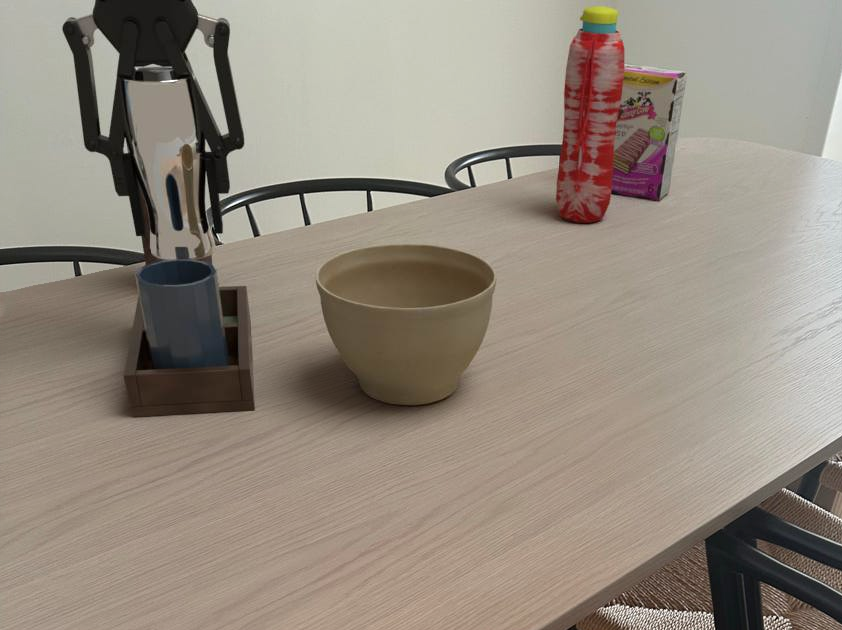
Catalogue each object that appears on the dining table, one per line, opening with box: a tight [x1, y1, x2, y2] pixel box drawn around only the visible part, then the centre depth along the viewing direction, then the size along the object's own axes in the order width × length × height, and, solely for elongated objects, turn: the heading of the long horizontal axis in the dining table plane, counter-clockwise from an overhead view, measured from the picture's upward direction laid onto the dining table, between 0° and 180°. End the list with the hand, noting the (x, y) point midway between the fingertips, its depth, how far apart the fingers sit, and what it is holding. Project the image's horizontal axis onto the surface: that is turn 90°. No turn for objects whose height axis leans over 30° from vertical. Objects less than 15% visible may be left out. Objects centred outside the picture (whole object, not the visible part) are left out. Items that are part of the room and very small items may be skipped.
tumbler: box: [134, 259, 230, 370], centre depth 89 cm, size 7×7×10 cm
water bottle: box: [555, 5, 626, 224], centre depth 131 cm, size 12×8×25 cm, turn 158°
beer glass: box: [115, 66, 217, 260], centre depth 90 cm, size 7×7×15 cm
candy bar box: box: [611, 62, 688, 202], centre depth 143 cm, size 11×5×16 cm, turn 65°
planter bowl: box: [314, 242, 497, 406], centre depth 92 cm, size 16×16×11 cm
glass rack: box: [123, 285, 256, 418], centre depth 96 cm, size 11×21×4 cm, turn 11°
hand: (180, 229), depth 94 cm, fingers closed on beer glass, 6 cm apart
